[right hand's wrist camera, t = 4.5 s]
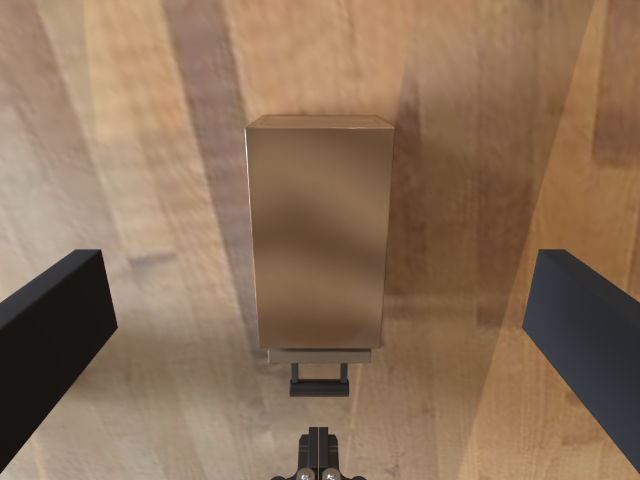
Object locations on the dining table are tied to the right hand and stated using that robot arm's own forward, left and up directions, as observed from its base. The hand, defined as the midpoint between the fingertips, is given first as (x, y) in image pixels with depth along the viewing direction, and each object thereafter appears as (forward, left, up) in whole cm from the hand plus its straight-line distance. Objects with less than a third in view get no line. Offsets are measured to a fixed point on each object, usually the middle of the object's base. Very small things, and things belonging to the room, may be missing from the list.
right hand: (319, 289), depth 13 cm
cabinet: (+1, -6, -26) cm, 26 cm away
